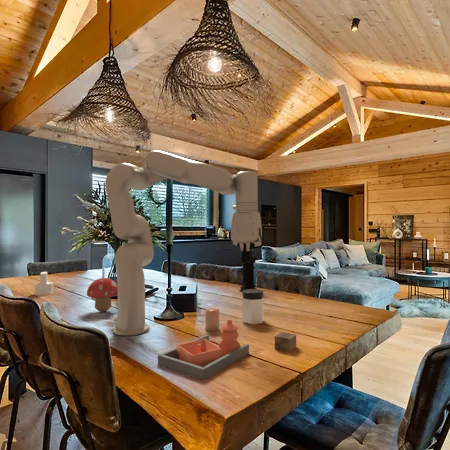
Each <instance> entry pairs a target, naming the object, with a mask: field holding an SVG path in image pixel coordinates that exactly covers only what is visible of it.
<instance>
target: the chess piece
mask: <svg viewBox="0 0 450 450" xmlns="http://www.w3.org/2000/svg"><path fill="white" fill-rule="evenodd" d="M239 259H240V263H241V264H242V266H241V268H242V284H241V285H240V289H239V292H241V293H242V294H243V290H246V289H257V288H256V287H257V286H256V285H255V283H254V282H255V279H254V278H255V273H254V271H255V265H254V264H256V260H257V257H256V256H252V260H251V263H243V262H242V256H240V257H239Z"/></svg>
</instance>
